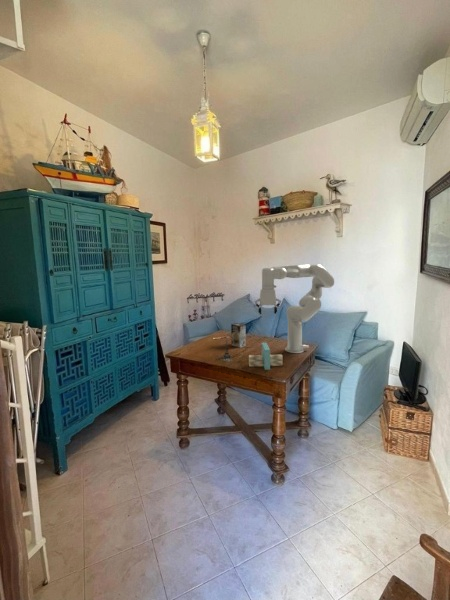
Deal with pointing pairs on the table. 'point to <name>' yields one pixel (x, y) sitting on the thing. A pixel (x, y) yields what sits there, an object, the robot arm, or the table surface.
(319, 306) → the robot arm
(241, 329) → the coffee box
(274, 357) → the slotted board
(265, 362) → the cross plate
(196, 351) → the table surface
